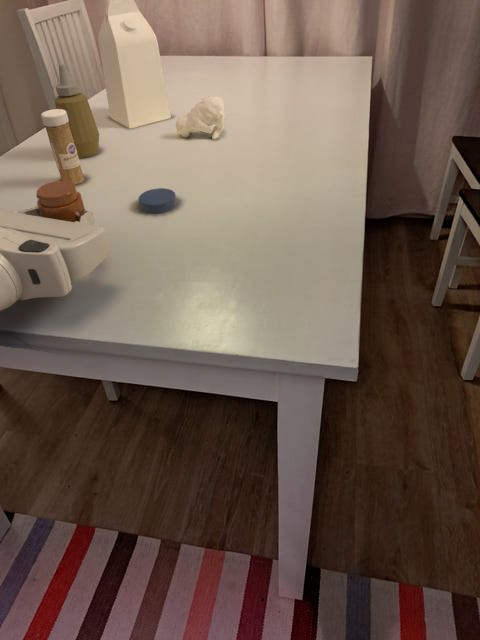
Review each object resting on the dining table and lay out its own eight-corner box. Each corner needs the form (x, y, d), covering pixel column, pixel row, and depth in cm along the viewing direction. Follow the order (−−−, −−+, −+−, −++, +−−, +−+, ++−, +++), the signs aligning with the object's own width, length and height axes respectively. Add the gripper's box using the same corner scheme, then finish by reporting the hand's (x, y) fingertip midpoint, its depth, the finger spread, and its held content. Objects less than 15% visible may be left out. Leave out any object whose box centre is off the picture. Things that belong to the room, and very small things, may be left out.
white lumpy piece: (222, 99, 102) (169, 107, 103) (228, 138, 108) (178, 145, 109) (223, 91, 107) (172, 99, 108) (228, 128, 112) (180, 136, 113)
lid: (177, 212, 82) (175, 202, 81) (140, 216, 82) (138, 206, 80) (176, 195, 87) (174, 186, 86) (141, 199, 87) (139, 190, 85)
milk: (150, 108, 129) (132, -6, 112) (171, 117, 121) (155, -3, 104) (110, 118, 124) (85, 0, 107) (129, 128, 116) (105, 4, 99)
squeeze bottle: (73, 147, 108) (49, 61, 97) (107, 146, 108) (87, 59, 96) (62, 161, 102) (34, 71, 91) (97, 160, 102) (75, 69, 90)
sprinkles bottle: (78, 187, 92) (58, 116, 83) (57, 185, 93) (35, 115, 84) (88, 177, 95) (70, 108, 86) (68, 176, 96) (48, 107, 87)
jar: (45, 250, 70) (24, 191, 63) (78, 233, 73) (60, 176, 67) (70, 263, 67) (50, 202, 61) (103, 244, 70) (87, 185, 64)
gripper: (-52, 270, 62) (17, 221, 72) (77, 298, 57) (133, 241, 66) (-75, 229, 58) (2, 183, 68) (62, 255, 52) (124, 200, 62)
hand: (68, 212), depth 67 cm, fingers closed on jar, 6 cm apart
